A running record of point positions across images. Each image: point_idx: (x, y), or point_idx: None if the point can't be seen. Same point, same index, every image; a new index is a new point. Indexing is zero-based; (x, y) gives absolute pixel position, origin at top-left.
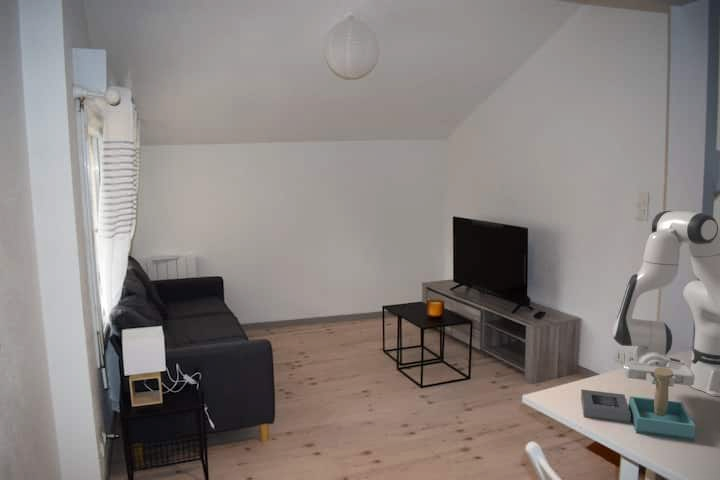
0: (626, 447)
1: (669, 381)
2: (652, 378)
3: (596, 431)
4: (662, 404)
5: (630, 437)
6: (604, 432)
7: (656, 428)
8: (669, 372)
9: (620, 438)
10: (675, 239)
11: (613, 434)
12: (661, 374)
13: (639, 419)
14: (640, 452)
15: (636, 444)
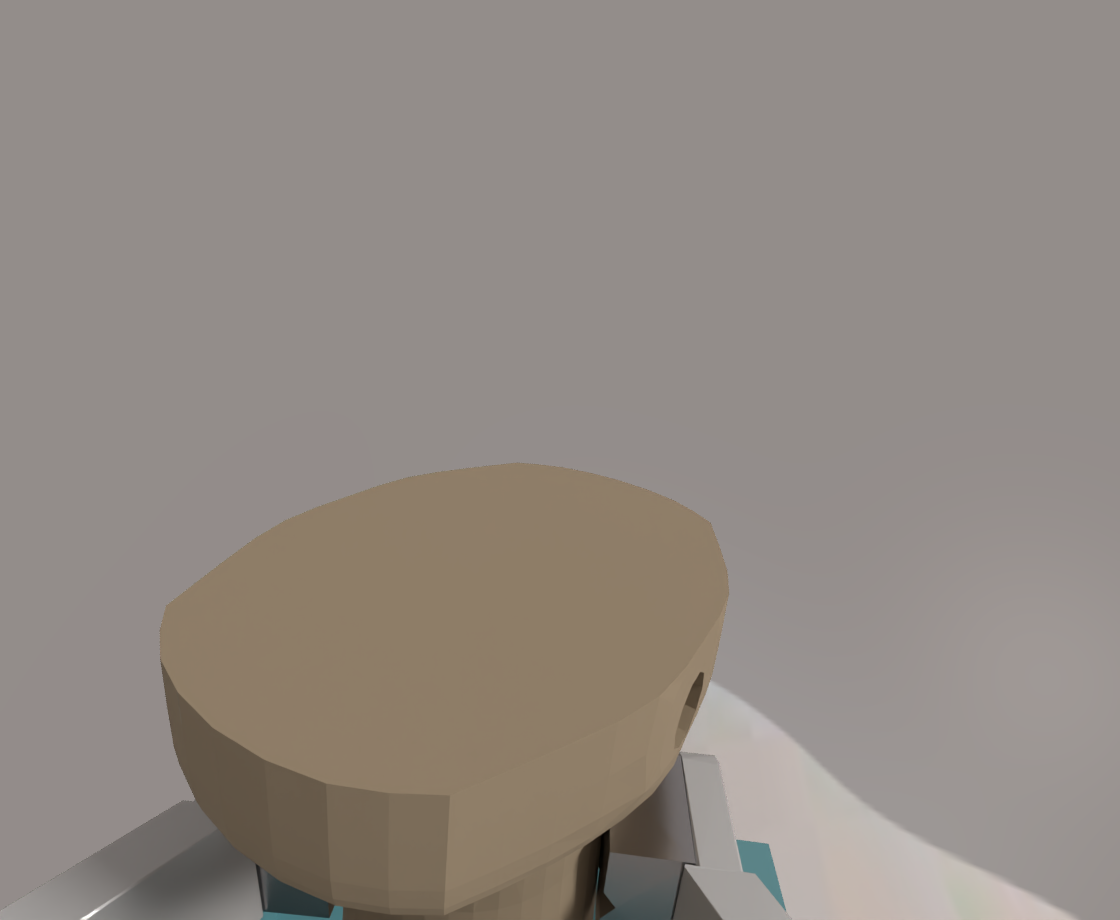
0: (780, 735)
1: None
2: (717, 783)
3: (1042, 915)
4: None
5: (773, 860)
6: (979, 908)
7: None
8: (366, 527)
9: (838, 833)
10: None
11: (903, 886)
12: (595, 486)
13: (746, 847)
14: (702, 701)
15: (726, 773)
